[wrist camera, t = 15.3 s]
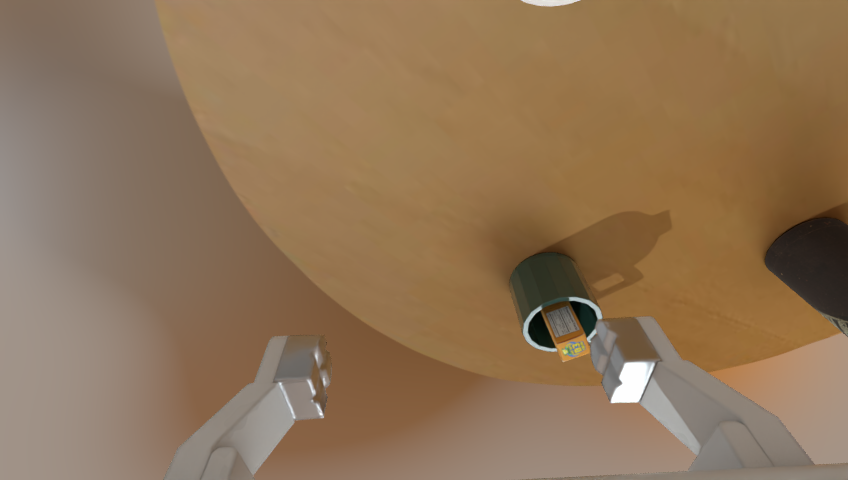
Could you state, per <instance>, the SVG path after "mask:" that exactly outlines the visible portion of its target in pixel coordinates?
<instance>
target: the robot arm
mask: <svg viewBox="0 0 848 480" xmlns="http://www.w3.org/2000/svg"><path fill="white" fill-rule="evenodd" d="M595 330H596V332H597V335H595V336H594V337H593V338H592V340H591V344H590V354H591V359H592V362H593V365H594V367H595V370H597V371H598V372H599V373H600V374H602V375H603V379H602V382H601V383H602V386H603V388H604V390H605V392H606V394H607V396H608V399H609V401H610V403H627V402H640V404H641V405H642V406H643V407H644V408H645V409H646V410H647V411H648V412H650V413H651V414H652V415H653V416H654V417H655V418H656V419H657V420H658V421H659V422H661V423H662V424H663V425H664V426H665V427H666V428H667V429H668V430H669V431H670V432H672V433H673V434H674V435H675V436H676V437H677V438H678V439H679V440H680V441H681V442H682V443H684V444H685V445H686V446H687V447H688V448H689V449H690V450H691V451H692V452H693V453H695V454H696V455H697V457H696V459H695V460H694V462H693V463H692V465H691V466H690V468H689V470H688V471H682V472H663V473H643V474H626V475H604V476H585V477H565V478H544V479H524V480H848V463H840V464H839V463H838V464H819V465H815V464H814V463H813V461H812V460H811V459H810V458H809V456H808V455H807V454H806V452H805V451H804V450H803V449H802V447H801V446H800V445H799V444H798V442H797V441H796V440H795V438H794V437H793V436H792V435H791V433H790V432H789V431H788V430H787V428H786V427H785V426H784V424H783V423H782V422H781V420H780V419H779V418H778V417H777V416H775V415H774V414H772V413H770V412H769V411H767V410H765V409H764V408H763V407H761V406H759V405H758V404H756V403H754V402H753V401H751V400H750V399H748V398H747V397H745V396H743V395H742V394H740V393H739V392H737V391H736V390H734V389H732V388H731V387H729V386H728V385H726V384H725V383H723V382H721V381H720V380H718V379H717V378H715V377H713V376H712V375H710V374H709V373H707V372H706V371H704V370H702V369H701V368H699V367H698V366H696V365H694V364H693V363H691V362H690V361H688V360H682V359H681V357H680V356H679V354H678V353H677V351H676V350H675V348H674V347H673V345H672V344H671V342H670V341H669V339H668V338H667V336H666V335H665V333H664V332H663V330H662V329H661V327H660V326H659V325H658V323H657V322H656V320H655V319H654V318H653V317H651V316H645V317H633V318H632V317H625V318H610V319H599V320H598V321H597V322H596V325H595ZM326 343H327V342H326V339H325V336H324V335H296V336H273V337H272V338H271V339H270V341H269V343H268V346H267V348H266V351H265V354H264V356H263V359H262V362H261V365H260V367H259V370H258V373H257V376H256V378H255V381H254V383H253V384H248V385H247V386H246V387H245V388H243V389H242V390H241V391H240V392H239V393H238V394H237V395H236V396H235V397H234V398H232V399H231V401H229V402H228V403H227V404H226V405H225V406H224V407H223V408H221V409H220V410H219V411H218V412H217V413H216V414H215V415H214V416H213V417H212V418H210V420H208V421H207V422H206V423H205V424H204V425H203V426H202V427H201V428H199V430H197V431H196V432H195V433H194V434H193V435H192V436H191V437H190V438H188V439H187V440H186V441H185V442H184V443H183V444H182V445H181V446H180V447H179V448H178V449H177V452H176V454H175V456H174V458H173V460H172V462H171V464H170V466H169V468H168V471H167V473H166V475H165V477H164V479H163V480H255V478H254V477H253V475H254V474H255V472H256V471H257V470H258V469H259V467H260V466H261V465H262V463H263V462H264V461H265V460H266V458H267V457H268V456H269V454H270V453H271V452H272V450H273V449H274V448H275V446H276V445H277V444H278V443H279V442H280V440H281V439H282V438H283V436H284V435H285V434H286V432H287V431H288V430H289V428H290V427H291V426H292V425H293V423H294V420H304V419H316V418H323V417H324V412H325V407H326V402H327V394H326V391H325V388H327V386H328V385H329V384H330V381H331V372H332V363H331V357H330V353H329V352H328V351H327V350H325V348H326Z"/></svg>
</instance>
